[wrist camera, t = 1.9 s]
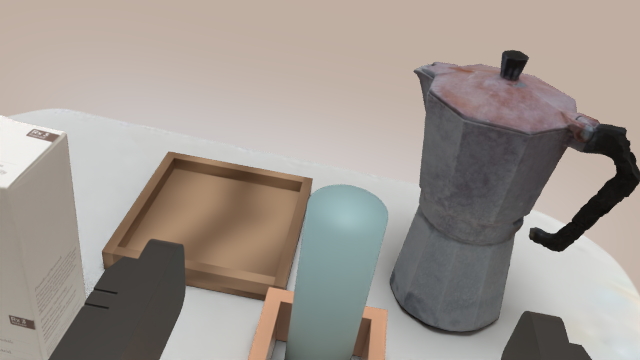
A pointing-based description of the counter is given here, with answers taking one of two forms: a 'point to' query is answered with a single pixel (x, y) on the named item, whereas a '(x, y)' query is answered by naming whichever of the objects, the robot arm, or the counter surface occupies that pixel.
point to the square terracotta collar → (278, 321)
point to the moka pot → (492, 185)
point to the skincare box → (36, 241)
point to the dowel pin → (334, 272)
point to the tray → (219, 223)
